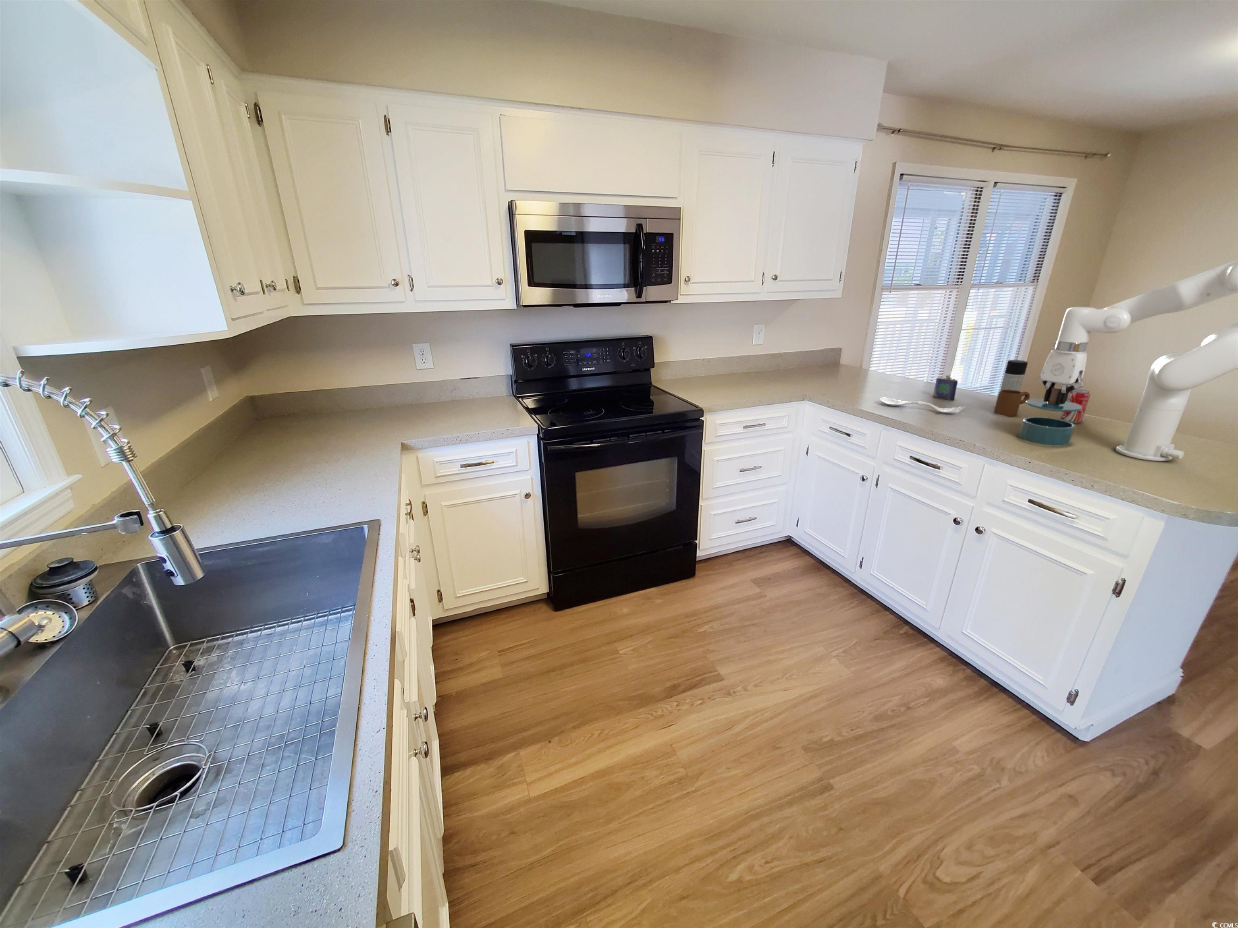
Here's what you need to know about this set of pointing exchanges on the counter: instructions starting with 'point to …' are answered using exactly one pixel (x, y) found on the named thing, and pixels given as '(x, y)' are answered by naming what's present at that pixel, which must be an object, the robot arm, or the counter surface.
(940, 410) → the spoon
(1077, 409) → the lid
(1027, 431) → the dish
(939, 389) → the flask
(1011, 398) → the mug
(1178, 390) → the robot arm
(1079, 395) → the soda can
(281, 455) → the counter surface
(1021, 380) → the spray can
